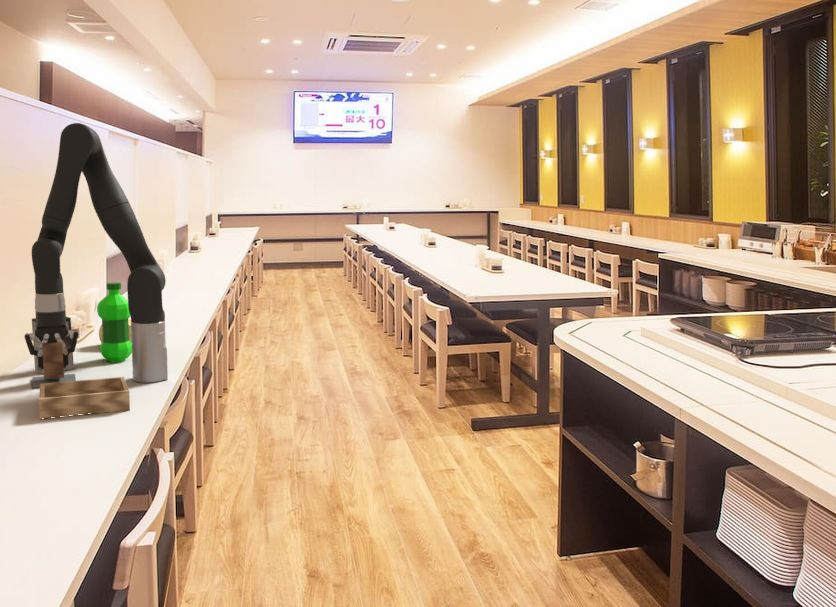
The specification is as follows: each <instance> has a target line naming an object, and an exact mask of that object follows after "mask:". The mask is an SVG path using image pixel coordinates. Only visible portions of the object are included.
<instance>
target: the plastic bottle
mask: <svg viewBox="0 0 836 607" xmlns="http://www.w3.org/2000/svg"><path fill="white" fill-rule="evenodd" d="M121 289H122V283H121V282H107V283H106V290H107V291H108V294H107V295H106V296H104V297H103V298H102V299H101V300H100V301H99V302H98V303H97V306H96V312H97V316H99V318H100V319H101V324H102V334H103V341H102V343H101V342H100V346H99V353H100V354H101V355H102V357H103V358H104V359H105V360H106V361H108V362H110V363H119V362H125V361H126V359H128V358H129V357H130V356H132V343H131V342H130V341H129V322H128V319H130V318H131V316H130V313H129V307H128V298H125V297H124V296H123V295H122V294H120V290H121Z"/></svg>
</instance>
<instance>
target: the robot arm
mask: <svg viewBox="0 0 836 607" xmlns="http://www.w3.org/2000/svg"><path fill="white" fill-rule="evenodd" d="M110 166H111V165H110V164H109V161H108V158H107V155H106V153H105V149H104V147H103V144H102V140H101V138H100V136H99V134H98V133H97V132H96V131H95V130H94V129H93V128H92V127H90V126H88V125H86V124H83V123H79V122H74V123H70V124H68V125H66V126H65V127H64V128H63V129H62V130H61V133H60V139H59V148H58V157H57V164H56V168H55V173H54V177H53V180H52V183H51V188H50V190H49V191H50V192H49V195H48V198H47V200H46V204H45V208H44V210H43V214H42V218H41V226H40V227H41V228H40V231H39V235H38V236H37V239H36V241H35V242H33V245H32V246H31V262H32V267H33V272H34V290H35V293H34V294H35V296H34V309H35V318H36V330H35V332H33V331H32V332H29V333H25V334H24V340H25V343H26V345H27V346H26V347H27V349H28V351H29V354H30V355H31V356H34V355H36V356H37V357H38V366H39V368H41V370H43V369H44V368H43V350H42V343H52V342H58V343H59V342H62V347H63V367H64V368H66V366H67V365H68V364H69V363H68V354H69V353H71V352H73V353H74V352H75V351H76V347H77V341H78V338H79V331H78V330H77V329H76V330H72V329H71V330H68V329H67V327H66V316H67V314H66V300H65V293H64V280H63V275H62V272H61V257H62V255H63V251H64V249H65V244H66V238H67V234H68V230H69V228H70V225H71V222H72V219H73V216H74V213H75V209H76V204H77V200H78V199H77V197H78V190H79V184H80V180H81V175H82V174H83V176H84V178H85V181H86V184H87V187H88V192H89V195H90V199H91V203H92V206H93V209H94V211H95V214H96V216H97V217H98V220H99V222H100V224H101V226H102V228H103V230H104V231H105V233H106V234H107V236H108V237H109V238H110V239H111V241H112V242H113V244H115V246H116V247H117V248H118V250H119V251H120V253H121V254H122V256H123V257H124V259H125V261H126V263H127V267H128V268H129V271H130V272H129V276H128V278H127V284H126V285H127V286H126V287H127V288H126V289H127V290H126V291H127V300H128V307H129V313H130V320H131V338H132V343H131V344H132V353H131V363H132V365H131V366H132V380H133V381H134V382H136V383H156V382H161V381H162V382H163V381H167V380H168V379H169V377H168V372H169V371H168V348H167V346H166V344H167V342H166V320H165V319H166V313H165V310H164V307H163V293H162V292H163V290H164V289H165V286H166V281H167V280H166V275H165V274H164V271H163V269H162V267H160V264H159V262H157V259H156V258H155V256H154V254H153V253H152V251H151V250H150V247H149V246H148V243H147V241H146V239H145V236H144V233H143V231H142V229H141V226H140V223H139V222H138V220H137V216H136V214H135V212H134V209H133V208H132V206H131V203H130V202H129V200H128V198H127V196H126V194H125V191H124V190H123V188H122V186H121V184H120V182H119V181H118V178H116V176H115V175H114V172H113V171H112V168H111V167H110ZM67 334H69V335H70V338H72V342H71V346H70V348H68V349H67V348H66V346H65V343H64V341H63V340H64V338H65V337H66V336H67ZM34 336H36V337H37V338H38V339H39V340H40V341H41V344H40V347H39V350H35V349H34V346H33V340H34Z"/></svg>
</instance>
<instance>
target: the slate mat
mask: <svg viewBox="0 0 836 607" xmlns="http://www.w3.org/2000/svg"><path fill="white" fill-rule="evenodd" d="M68 381H77V380H76V373H70V374H64V378H51V379H44V375H42V376H32V381H31V390H33V389H34V390H35V389H40V384H44V383H56V382H68Z"/></svg>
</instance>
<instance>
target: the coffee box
mask: <svg viewBox="0 0 836 607" xmlns="http://www.w3.org/2000/svg"><path fill="white" fill-rule="evenodd" d="M71 318H72V317H68V315H66V327H67V329H68V330H71V331H72V319H71ZM31 327H32V329H31V330H32V333H33V332H35V330H36V317H35V318H33V317H32V318H31ZM63 341H64V343H65V346H66V348H67V349H68V348H70V346H71V342H72V338H70V335H69V334H67V336H66V337H65V338H64V340H63ZM32 343H33V346H34V349H35V350H39V347H40V344H41V341H40V340H39V339H38V338H37V337H36V336H34V340H33V341H32ZM33 357H34V359H33V360H34V371H35V372H37V373H40V374H42V375H44V369H43V370H41V368H39V366H38V357H37V356H36V355H33ZM68 363H69V364H68V365H67V366H66V368H64V371H68V370H69V371H70V370H74V369H75V368H74V366H75V364H74V352H71V353H69V354H68Z"/></svg>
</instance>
